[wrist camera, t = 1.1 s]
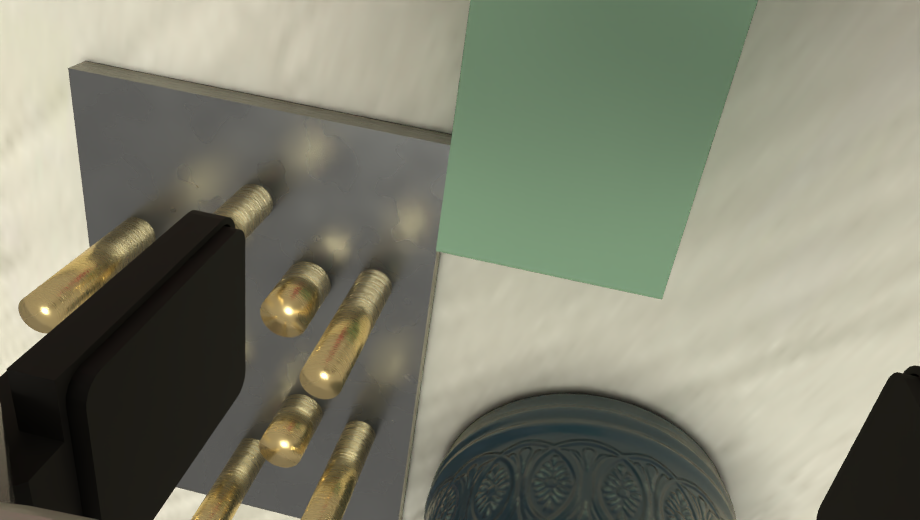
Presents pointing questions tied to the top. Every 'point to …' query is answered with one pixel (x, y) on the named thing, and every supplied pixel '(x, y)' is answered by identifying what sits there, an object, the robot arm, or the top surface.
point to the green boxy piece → (586, 133)
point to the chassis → (277, 276)
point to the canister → (576, 466)
